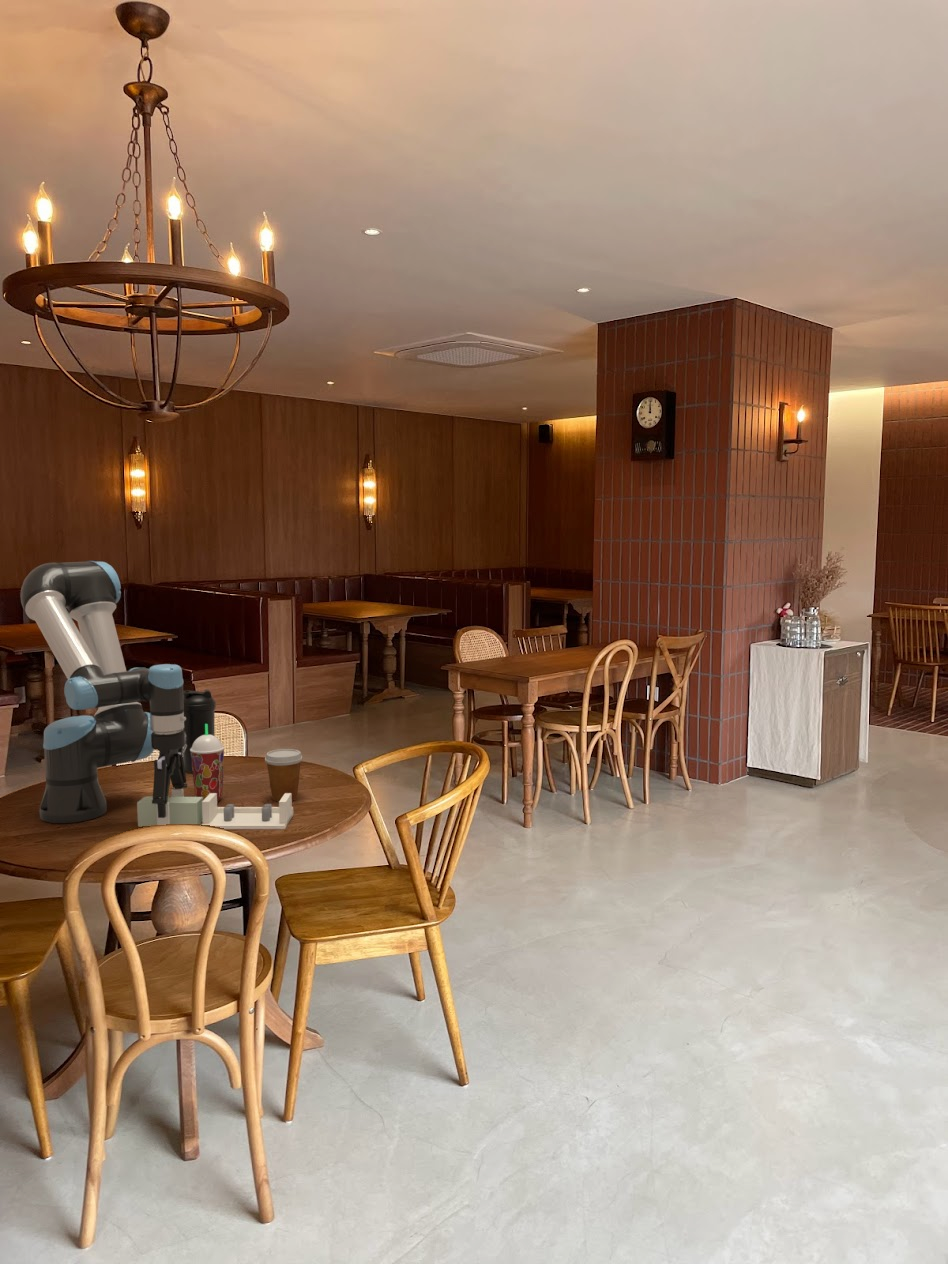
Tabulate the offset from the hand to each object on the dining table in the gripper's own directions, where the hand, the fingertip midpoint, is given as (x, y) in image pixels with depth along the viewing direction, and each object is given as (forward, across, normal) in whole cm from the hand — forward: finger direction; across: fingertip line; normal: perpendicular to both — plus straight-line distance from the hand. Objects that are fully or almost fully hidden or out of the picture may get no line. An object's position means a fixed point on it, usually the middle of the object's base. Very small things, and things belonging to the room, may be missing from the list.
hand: (171, 822), depth 226 cm
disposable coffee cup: (0, +20, -23) cm, 31 cm away
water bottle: (+1, +48, +7) cm, 49 cm away
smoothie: (0, +18, -4) cm, 19 cm away
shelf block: (+1, 0, 0) cm, 1 cm away
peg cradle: (0, +1, -18) cm, 18 cm away
